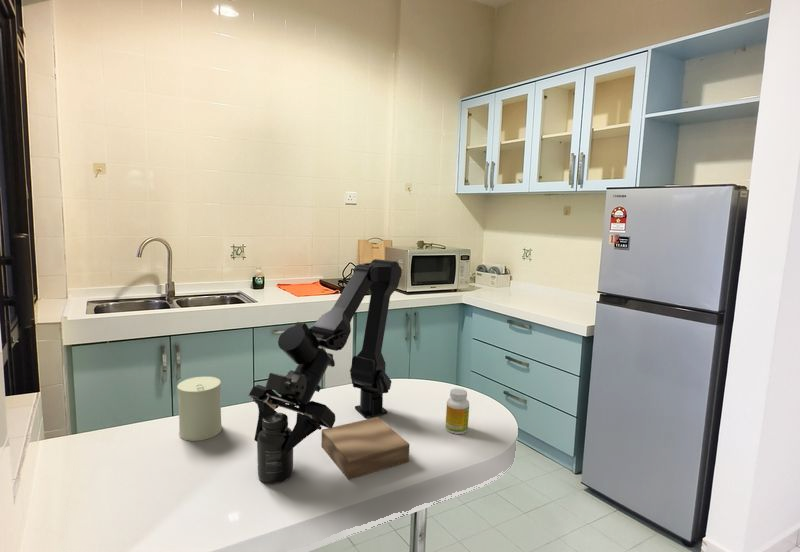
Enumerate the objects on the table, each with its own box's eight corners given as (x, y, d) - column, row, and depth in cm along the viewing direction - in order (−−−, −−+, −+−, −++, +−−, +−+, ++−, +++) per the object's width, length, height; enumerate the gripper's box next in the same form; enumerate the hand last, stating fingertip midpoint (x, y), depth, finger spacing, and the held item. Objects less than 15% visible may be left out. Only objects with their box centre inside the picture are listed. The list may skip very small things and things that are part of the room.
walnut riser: (321, 446, 106) (321, 429, 105) (377, 432, 113) (377, 416, 112) (348, 479, 94) (348, 460, 93) (408, 461, 101) (409, 444, 100)
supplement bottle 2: (466, 436, 113) (469, 397, 111) (444, 433, 114) (446, 394, 112) (468, 425, 118) (470, 388, 117) (446, 422, 119) (448, 385, 118)
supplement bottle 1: (300, 470, 96) (300, 414, 94) (278, 488, 90) (278, 429, 88) (273, 461, 99) (272, 407, 97) (249, 478, 93) (249, 420, 91)
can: (180, 444, 104) (178, 392, 102) (177, 426, 112) (175, 377, 110) (224, 436, 108) (223, 386, 107) (219, 419, 117) (218, 372, 115)
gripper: (254, 347, 98) (211, 417, 91) (327, 365, 90) (286, 445, 82) (281, 372, 107) (244, 439, 99) (350, 391, 98) (315, 466, 90)
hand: (270, 446), depth 92 cm, fingers open, 7 cm apart
